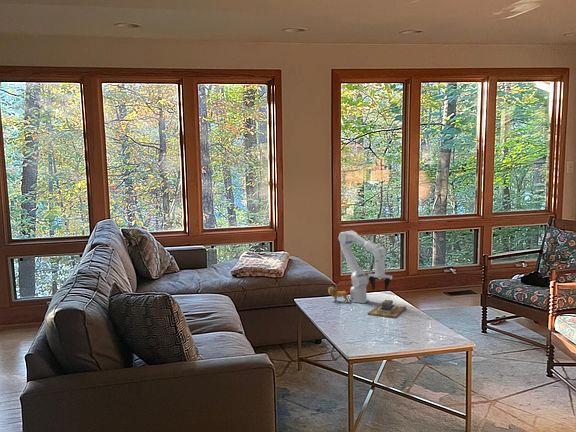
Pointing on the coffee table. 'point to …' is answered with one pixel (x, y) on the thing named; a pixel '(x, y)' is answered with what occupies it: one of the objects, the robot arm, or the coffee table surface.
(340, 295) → the lion figurine
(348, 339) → the coffee table surface
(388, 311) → the pocket plate
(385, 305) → the servo block
